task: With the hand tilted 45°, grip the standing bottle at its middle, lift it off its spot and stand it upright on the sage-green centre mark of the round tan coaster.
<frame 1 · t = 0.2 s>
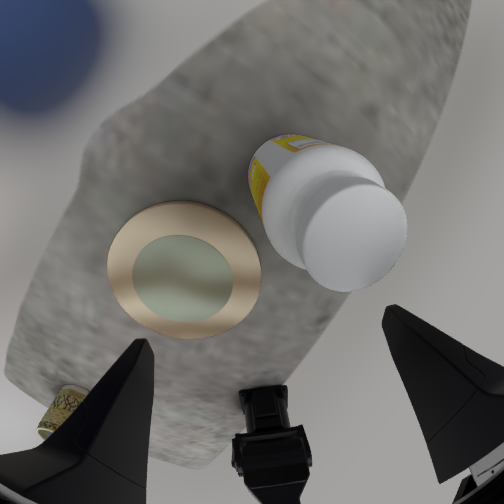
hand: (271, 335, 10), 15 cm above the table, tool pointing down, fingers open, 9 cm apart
round tan coaster: (183, 274, 25), on the table
ceramic cup: (81, 399, 34), on the table
supplement bottle: (288, 173, 22), on the table
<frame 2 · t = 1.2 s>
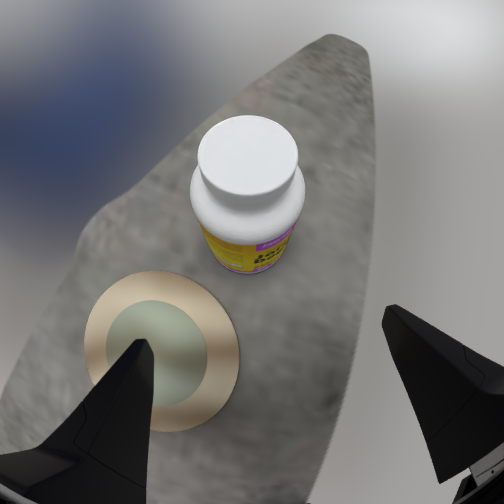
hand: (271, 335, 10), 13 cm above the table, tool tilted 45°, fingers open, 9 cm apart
round tan coaster: (158, 353, 22), on the table
supplement bottle: (247, 238, 25), on the table
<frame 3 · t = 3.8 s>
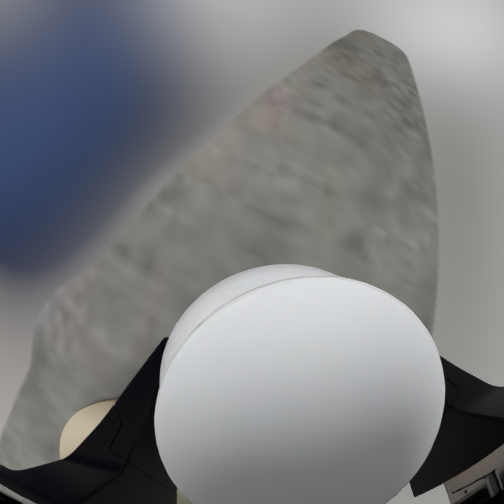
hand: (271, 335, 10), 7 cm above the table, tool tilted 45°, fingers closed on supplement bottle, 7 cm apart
round tan coaster: (151, 485, 13), on the table
supplement bottle: (264, 354, 16), on the table, touching gripper
when the fingers open (9 cm above the table, at t = 7.9 s): supplement bottle stays where it is, resting on round tan coaster.
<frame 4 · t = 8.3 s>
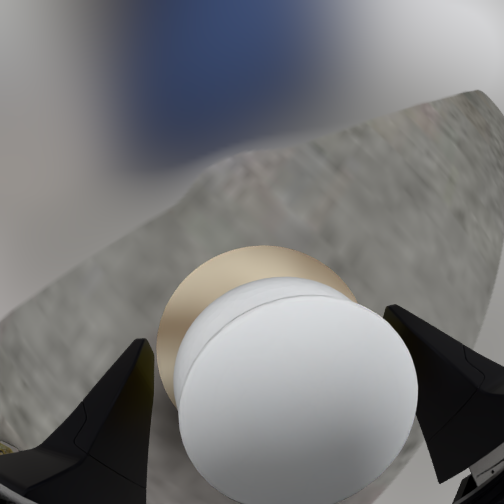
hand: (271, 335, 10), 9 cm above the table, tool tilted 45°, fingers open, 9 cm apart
round tan coaster: (263, 351, 18), on the table
ceramic cup: (16, 471, 13), on the table
supplement bottle: (264, 355, 17), point 1 cm above the table, touching round tan coaster
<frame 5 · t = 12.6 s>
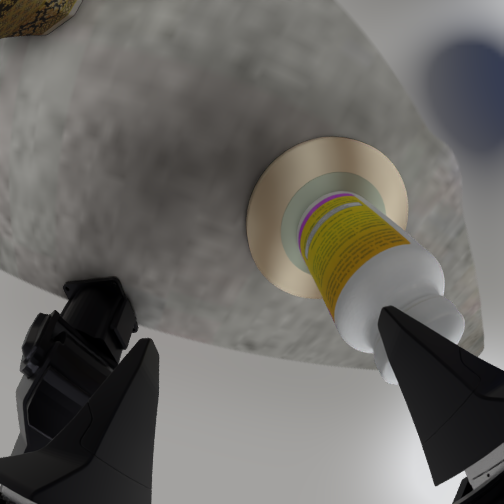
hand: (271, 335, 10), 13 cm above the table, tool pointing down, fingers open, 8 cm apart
round tan coaster: (331, 221, 22), on the table
ceramic cup: (45, 2, 10), on the table
supplement bottle: (334, 228, 21), point 1 cm above the table, touching round tan coaster, gripper
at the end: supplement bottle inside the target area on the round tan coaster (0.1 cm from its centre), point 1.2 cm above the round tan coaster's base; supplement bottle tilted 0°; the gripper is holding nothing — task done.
